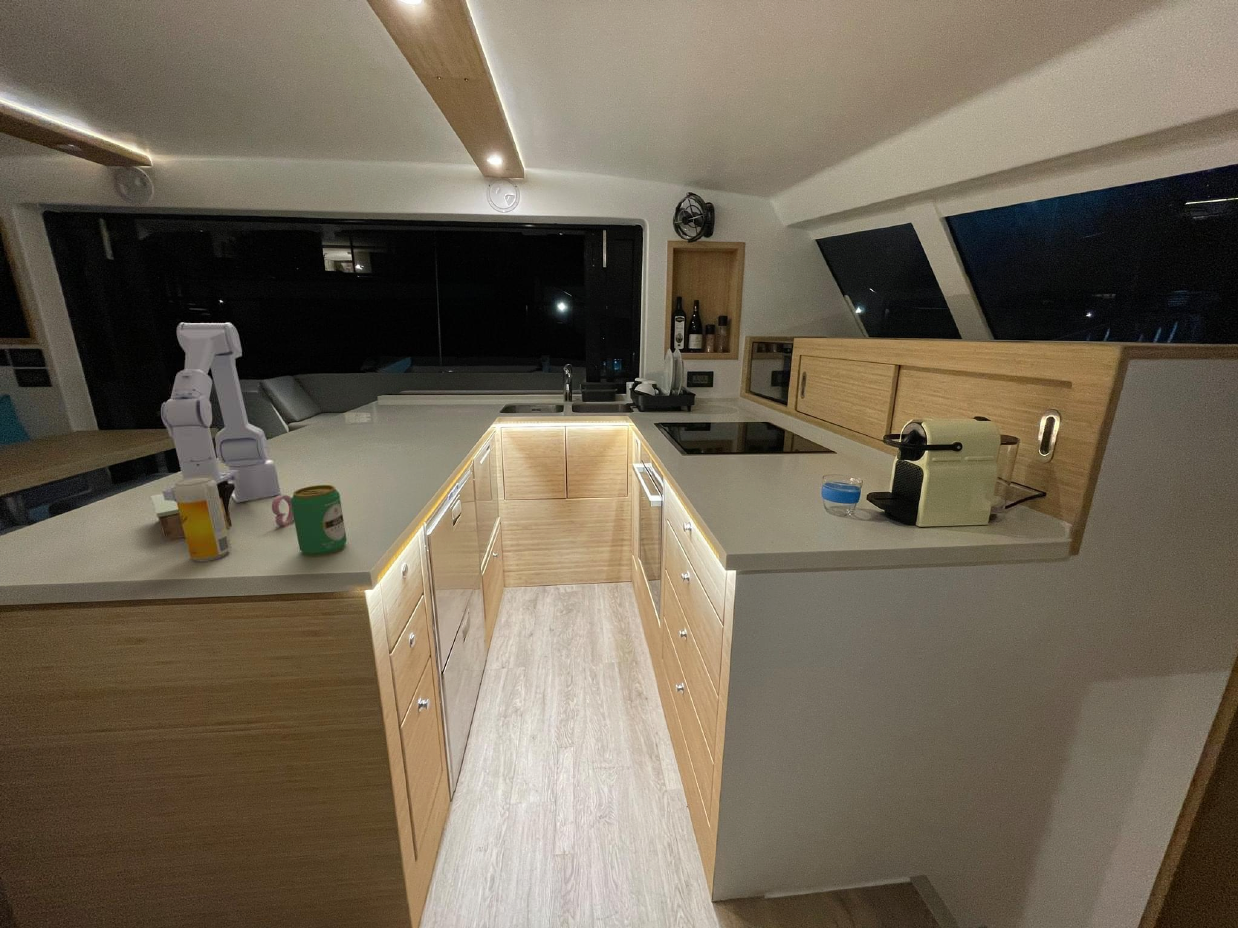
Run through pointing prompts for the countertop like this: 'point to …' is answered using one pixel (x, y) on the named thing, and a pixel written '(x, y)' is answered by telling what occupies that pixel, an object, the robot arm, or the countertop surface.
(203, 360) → the robot arm
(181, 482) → the beer can
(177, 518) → the wooden box
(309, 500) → the beverage can
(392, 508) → the countertop surface
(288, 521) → the decorative key
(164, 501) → the lid
